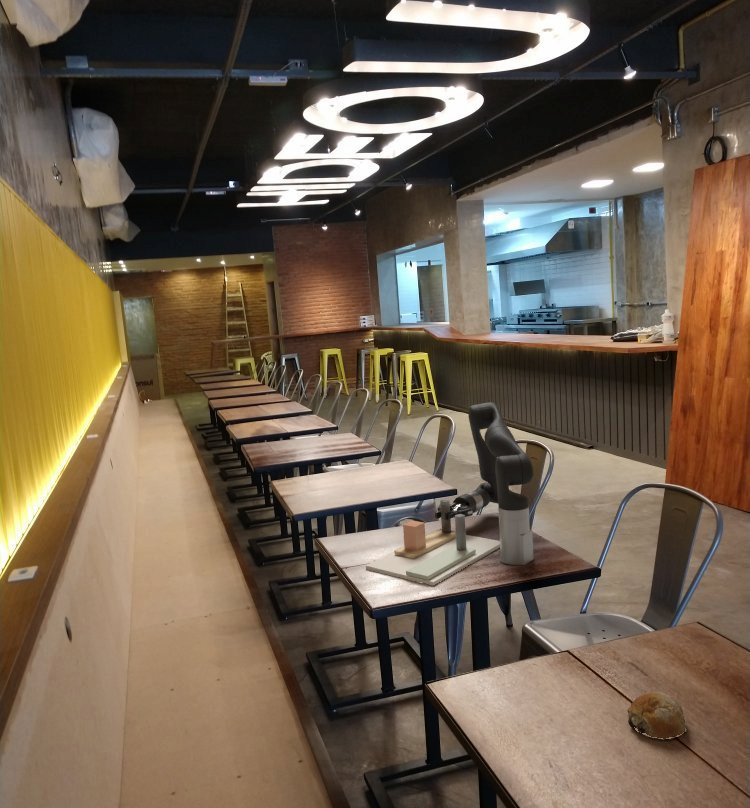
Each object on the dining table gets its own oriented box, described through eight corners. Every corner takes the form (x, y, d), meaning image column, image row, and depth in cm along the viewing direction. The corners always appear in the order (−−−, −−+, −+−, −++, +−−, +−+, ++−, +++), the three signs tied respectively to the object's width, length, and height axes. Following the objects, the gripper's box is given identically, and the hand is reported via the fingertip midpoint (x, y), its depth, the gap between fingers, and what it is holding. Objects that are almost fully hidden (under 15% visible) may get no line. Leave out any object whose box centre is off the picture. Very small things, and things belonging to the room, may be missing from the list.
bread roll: (682, 762, 127) (702, 725, 126) (627, 737, 128) (647, 700, 127) (669, 729, 137) (687, 695, 135) (618, 706, 138) (636, 672, 136)
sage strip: (475, 552, 225) (473, 515, 224) (427, 580, 206) (425, 539, 204) (454, 548, 230) (452, 512, 229) (406, 574, 211) (403, 535, 209)
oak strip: (459, 535, 243) (457, 500, 242) (414, 558, 224) (411, 521, 222) (440, 531, 248) (438, 498, 247) (394, 554, 229) (392, 517, 227)
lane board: (503, 545, 235) (503, 541, 235) (433, 586, 205) (433, 582, 204) (439, 533, 251) (439, 529, 251) (365, 569, 221) (365, 565, 221)
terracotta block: (425, 546, 231) (424, 522, 230) (416, 550, 227) (415, 526, 226) (413, 543, 234) (412, 520, 233) (404, 548, 230) (403, 524, 229)
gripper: (451, 491, 258) (423, 503, 245) (484, 496, 249) (457, 508, 236) (452, 511, 259) (424, 524, 246) (485, 516, 250) (458, 530, 237)
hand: (440, 516), depth 241 cm, fingers closed on oak strip, 3 cm apart
